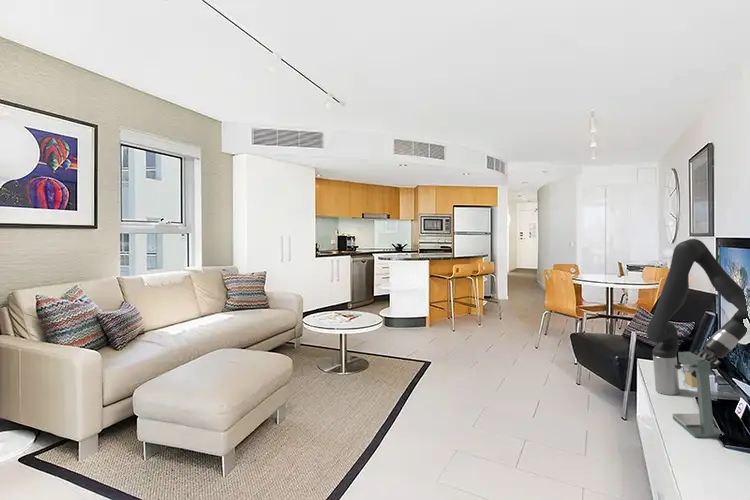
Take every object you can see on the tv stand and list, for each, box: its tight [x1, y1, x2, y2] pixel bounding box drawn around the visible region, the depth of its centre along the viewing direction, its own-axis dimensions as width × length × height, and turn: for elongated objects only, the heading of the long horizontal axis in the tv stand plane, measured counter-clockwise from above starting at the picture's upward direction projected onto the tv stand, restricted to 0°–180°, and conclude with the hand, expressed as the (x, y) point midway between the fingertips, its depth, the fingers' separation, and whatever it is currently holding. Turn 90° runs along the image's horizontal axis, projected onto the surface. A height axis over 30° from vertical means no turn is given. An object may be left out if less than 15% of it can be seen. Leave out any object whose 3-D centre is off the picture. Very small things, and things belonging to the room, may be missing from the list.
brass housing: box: [684, 370, 697, 389], centre depth 166 cm, size 5×5×11 cm
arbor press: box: [672, 351, 725, 439], centre depth 158 cm, size 16×13×28 cm
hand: (689, 373), depth 167 cm, fingers closed on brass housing, 5 cm apart
